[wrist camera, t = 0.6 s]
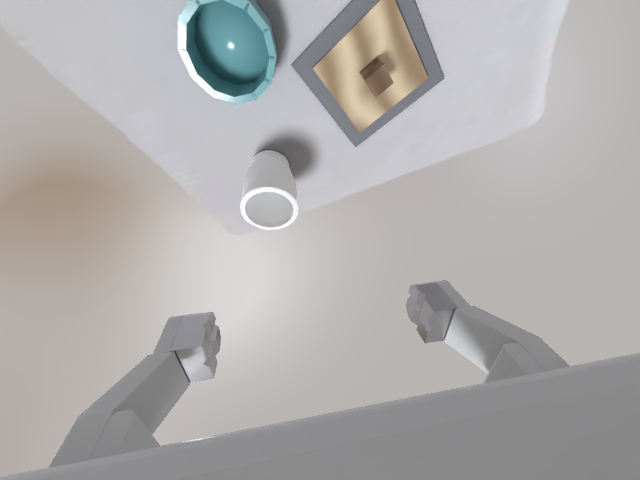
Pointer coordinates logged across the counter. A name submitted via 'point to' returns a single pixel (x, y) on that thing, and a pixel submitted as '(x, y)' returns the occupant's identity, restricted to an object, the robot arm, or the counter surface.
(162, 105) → the counter surface
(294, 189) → the jar
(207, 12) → the bowl
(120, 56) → the counter surface
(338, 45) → the lid
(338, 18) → the mat
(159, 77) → the counter surface
